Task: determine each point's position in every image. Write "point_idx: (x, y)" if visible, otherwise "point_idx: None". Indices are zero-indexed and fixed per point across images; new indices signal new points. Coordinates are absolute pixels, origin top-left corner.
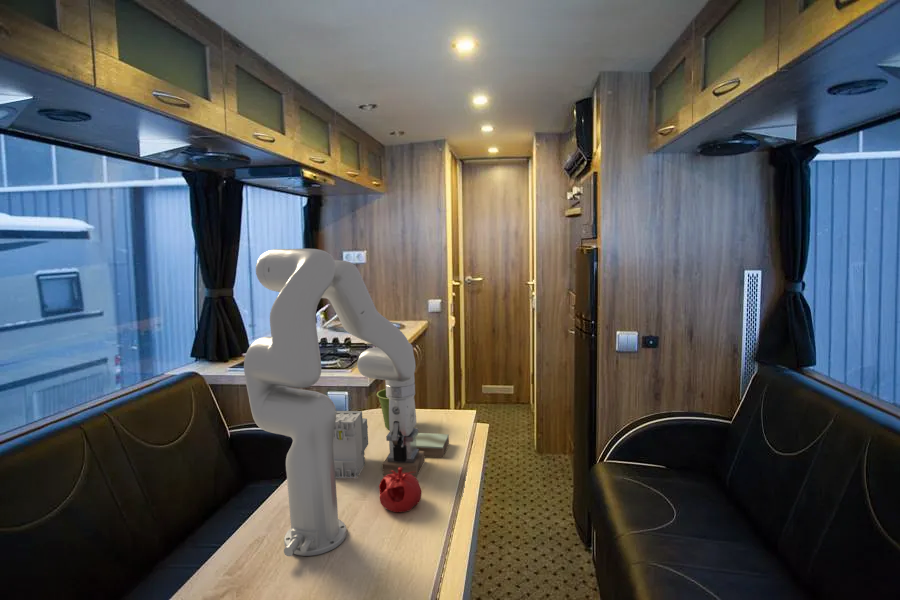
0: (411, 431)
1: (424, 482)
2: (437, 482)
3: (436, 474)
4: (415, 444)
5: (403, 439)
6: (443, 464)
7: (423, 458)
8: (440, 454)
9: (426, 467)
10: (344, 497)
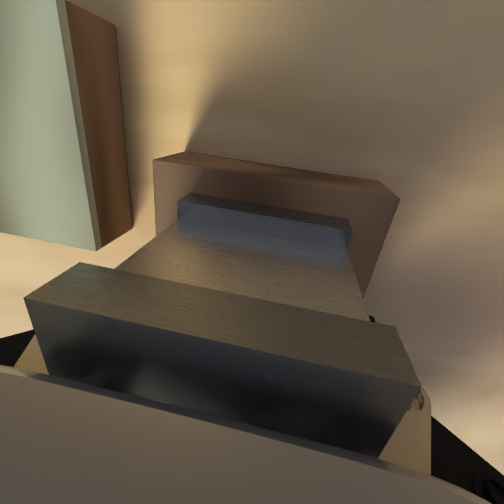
0: (280, 451)
1: (463, 123)
2: (497, 15)
3: (362, 43)
4: (183, 242)
5: (424, 469)
6: (212, 4)
7: (196, 158)
8: (103, 40)
9: (256, 131)
10: (490, 439)
